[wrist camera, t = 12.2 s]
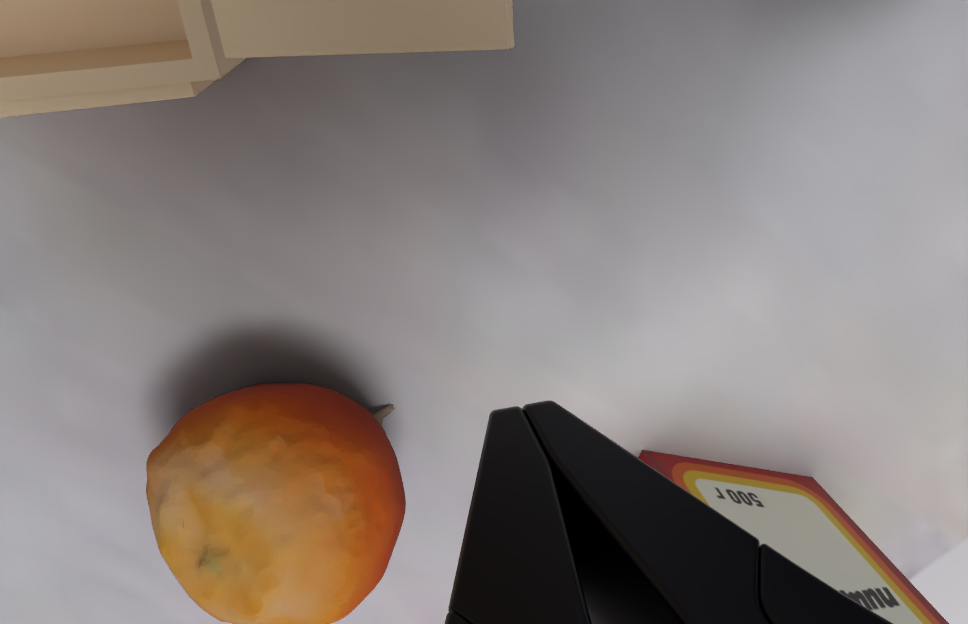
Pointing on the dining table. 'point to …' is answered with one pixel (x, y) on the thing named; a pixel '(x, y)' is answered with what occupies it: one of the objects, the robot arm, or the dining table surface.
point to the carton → (105, 53)
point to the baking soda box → (802, 531)
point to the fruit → (277, 503)
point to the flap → (361, 26)
